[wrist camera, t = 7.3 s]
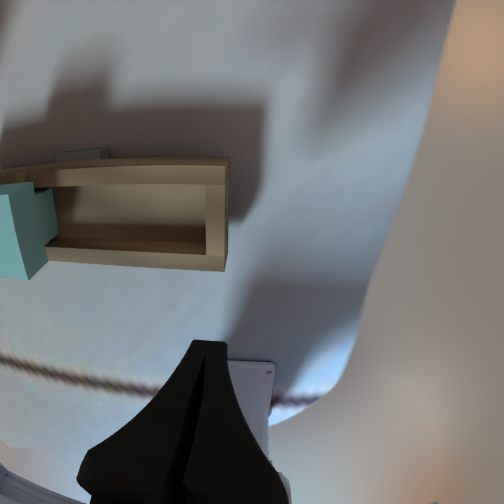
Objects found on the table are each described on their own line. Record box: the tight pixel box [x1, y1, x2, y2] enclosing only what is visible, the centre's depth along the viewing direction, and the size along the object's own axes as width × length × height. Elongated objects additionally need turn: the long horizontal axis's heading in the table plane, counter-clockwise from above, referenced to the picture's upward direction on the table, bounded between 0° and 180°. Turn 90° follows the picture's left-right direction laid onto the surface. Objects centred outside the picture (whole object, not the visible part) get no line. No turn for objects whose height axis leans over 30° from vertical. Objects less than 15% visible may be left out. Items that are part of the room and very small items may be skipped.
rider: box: [0, 182, 59, 281], centre depth 16 cm, size 5×4×5 cm
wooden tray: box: [0, 148, 230, 272], centre depth 19 cm, size 7×20×4 cm, turn 88°
